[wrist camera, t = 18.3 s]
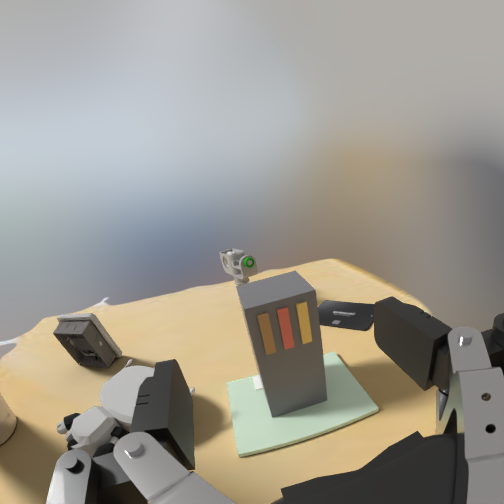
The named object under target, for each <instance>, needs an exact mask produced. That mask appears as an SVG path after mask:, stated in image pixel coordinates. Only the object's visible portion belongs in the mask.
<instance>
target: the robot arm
mask: <svg viewBox="0 0 504 504" xmlns="http://www.w3.org/2000/svg"><path fill="white" fill-rule="evenodd" d="M374 337H375V341H376V343H377V345H378V347H379V348H380V349H381V350H382V351H383V352H384V353H385V354H386V355H387V356H389V357H390V358H391V359H392V360H393V361H394V362H395V363H396V364H397V365H398V366H399V367H400V368H401V369H402V370H403V371H404V372H405V373H407V374H408V375H409V376H410V377H411V378H412V379H413V380H414V381H415V382H416V383H417V384H418V385H419V386H420V387H421V388H422V389H423V390H424V391H426V390H427V389H429V388H431V387H432V386H434V385H436V386H437V391H436V431H435V435H432V436H428V437H424V438H423V437H422V435H421V434H420V433H419V432H418V431H416V432H415V433H413V434H411V435H410V436H408V437H406V438H404V439H402V440H401V441H399V442H397V443H395V444H393V445H391V446H389V447H388V448H387V449H385V450H384V451H383V452H382V453H381V454H379V455H378V456H377V457H375V458H374V459H373V460H372V461H370V462H369V463H368V464H366V465H365V466H364V467H362V468H361V469H359V470H356V471H351V472H346V473H341V474H335V475H329V476H323V477H317V478H314V479H311V480H308V481H305V482H302V483H299V484H295V485H292V486H288V487H285V488H281V492H282V495H283V497H282V498H280V499H278V500H276V501H274V502H273V503H271V504H504V313H503V314H499V315H498V316H496V317H495V319H494V323H493V328H492V329H490V330H487V331H484V332H481V333H480V332H479V331H478V330H477V329H475V328H472V327H466V326H463V327H458V328H455V329H452V328H450V327H449V326H447V325H446V324H444V323H442V322H441V321H439V320H438V319H436V318H434V317H433V316H432V317H431V315H430V314H428V313H426V312H424V311H423V310H421V309H420V308H418V307H417V306H414V305H410V304H406V303H402V302H401V301H399V300H398V299H396V298H394V297H388V298H386V299H383V300H381V301H378V302H376V303H375V305H374ZM137 397H138V398H137V399H136V406H135V408H134V413H133V418H132V423H131V427H130V432H129V434H127V435H125V436H123V437H122V438H121V439H120V440H119V441H118V442H117V443H116V445H115V447H114V451H113V452H111V453H109V454H105V455H102V456H98V457H94V458H91V457H90V455H89V454H88V453H87V452H85V451H83V450H80V449H73V450H70V451H67V452H65V453H64V454H62V455H61V456H60V458H59V459H58V461H57V463H56V466H55V469H54V473H53V477H52V480H51V484H50V488H49V492H48V497H47V501H46V504H236V503H235V502H233V501H232V500H230V499H229V498H227V497H226V496H225V495H223V494H222V493H221V492H219V491H218V490H217V489H215V488H214V487H213V486H211V485H210V484H209V483H208V482H206V481H205V480H204V479H203V478H201V477H200V476H199V475H198V474H196V473H195V472H193V471H192V472H189V471H188V470H195V457H194V433H193V402H192V397H191V393H190V390H189V388H188V385H187V383H186V381H185V379H184V376H183V374H182V372H181V369H180V367H179V364H178V362H177V361H176V360H175V359H173V360H168V361H162V362H157V363H156V365H155V370H154V375H153V376H152V377H146V379H145V380H144V381H143V383H142V384H141V385H140V387H139V391H138V395H137ZM16 423H17V419H16V416H15V415H14V413H13V412H12V410H11V409H10V407H9V406H8V404H7V403H6V401H5V400H4V398H3V397H2V395H1V393H0V445H1V444H2V443H4V442H5V441H6V440H7V439H8V438H9V437H10V436H11V434H12V433H13V431H14V429H15V427H16Z"/></svg>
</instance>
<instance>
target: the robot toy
mask: <svg viewBox="0 0 504 504" xmlns="http://www.w3.org/2000/svg"><path fill="white" fill-rule="evenodd" d="M131 363H132V359H131V360H129V361H128V362H127V364H126V366H125V367H124V368H123V369H122V370H121V371H120V372H118V373H117V374H116V375H114V376H113V377H112V378H111V379H109V380H108V381H107V382H105V383H104V384H103V387H102V389H101V392H100V401H101V404H102V406H103V407H104V408H103V407H99V406H94V407H92V408H91V409H89V410H87V411H86V412H84V413H82V414H79V413H74V414H72V415H69V416H66V417H64V422H63V421H61V422H60V423H58V424H57V432H58V433H60V434H66V433H67V434H66V440H67V442H68V445H67V447H68V451H70V450H73V449H80V450H83V451H85V452H87V453H88V454H89V455H90V457H91V458H94V457H98V456H102V455H105V454H109V453H111V452H113V451H114V447H115V445H116V443H117V442H118V441H119V440H120V439H121V438H122V437H123V436H125V435H127V434H128V433H127V432H126V431H128V432H130V427H131V423H132V418H133V413H134V408H135V406H136V399H137V398H138V397H137V395H138V391H139V387H140V385H141V384H142V383H143V381H144V380H145V379H146V377H152V376H153V375H154V370H155V368H151V367H146V366H136V365H135V366H130V367H128V366H129V365H130V364H131ZM194 392H195V387H194V388H192V389H190V393H191V395H193V393H194ZM124 429H125V430H126V431H125V430H124ZM67 431H68V432H67Z"/></svg>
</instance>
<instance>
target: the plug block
mask: <svg viewBox="0 0 504 504" xmlns="http://www.w3.org/2000/svg"><path fill="white" fill-rule="evenodd" d="M236 288H237V292H238V296H239V300H240V304H241V307H242V311H243V315H244V319H245V323H246V327H247V331H248V335H249V339H250V342H251V346H252V350H253V354H254V358H255V361H256V365H257V369H258V372H259V376H260V380H261V384H262V387H263V390H264V393H265V397H266V400H267V403H268V406H269V409H270V412H271V415H272V418H273V417H277V416H280V415H284V414H287V413H290V412H294V411H297V410H300V409H303V408H306V407H309V406H312V405H315V404H318V403H321V402H324V401H327V389H326V378H325V368H324V358H323V348H322V339H321V331H320V323H319V315H318V307H317V300H316V292H315V289H314V288H313V287H312V286H311V285H310V284H309V283H308V282H307V281H306V280H305V279H304V278H302V277H301V276H300V275H299V274H298V273H297V272H296V271H293V272H289V273H285V274H281V275H278V276H274V277H270V278H266V279H262V280H259V281H255V282H251V283H247V284H243V285H239V286H236Z"/></svg>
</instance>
